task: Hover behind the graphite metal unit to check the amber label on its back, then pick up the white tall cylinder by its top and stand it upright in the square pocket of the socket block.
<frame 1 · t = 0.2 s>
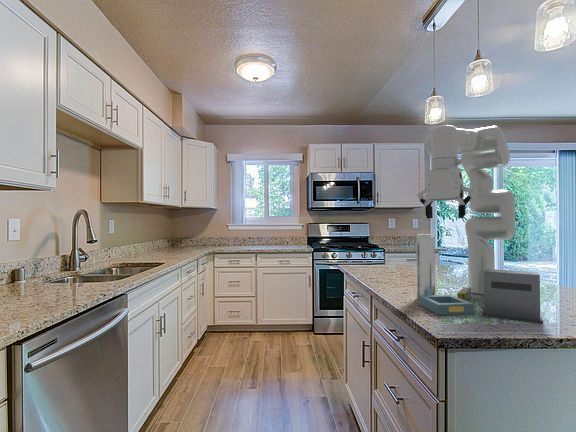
hand: (444, 218, 102), 31 cm above the worktop, tool pointing down, fingers open, 9 cm apart
socket block: (445, 310, 106), on the worktop
white tall cylinder: (426, 300, 120), on the worktop
medication box: (464, 301, 120), on the worktop
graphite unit: (510, 316, 99), on the worktop
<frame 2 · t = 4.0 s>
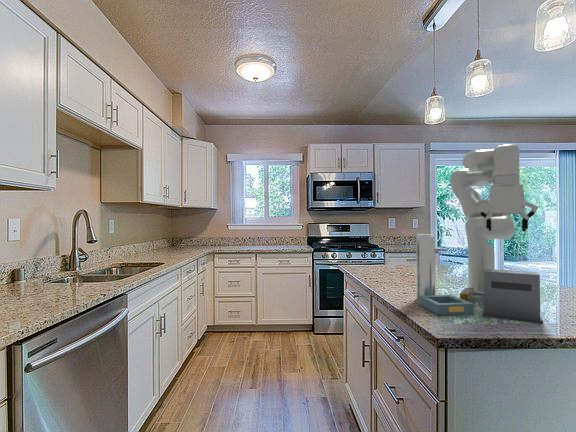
hand: (506, 231, 109), 26 cm above the worktop, tool pointing down, fingers open, 9 cm apart
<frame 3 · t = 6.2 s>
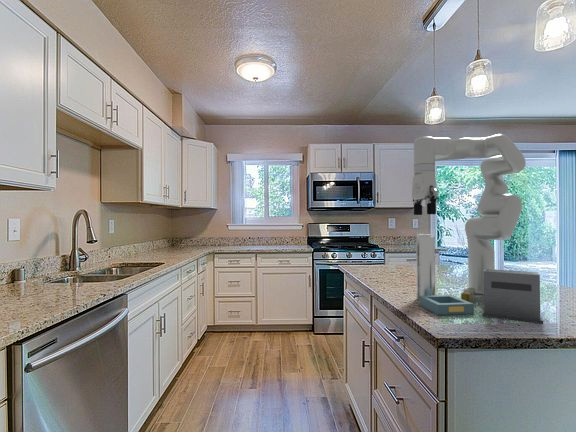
hand: (424, 214, 121), 32 cm above the worktop, tool pointing down, fingers open, 9 cm apart
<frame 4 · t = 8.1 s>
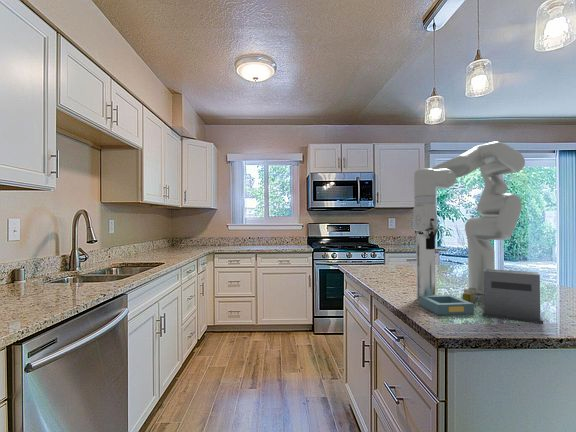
hand: (425, 247, 121), 20 cm above the worktop, tool pointing down, fingers closed on white tall cylinder, 6 cm apart
white tall cylinder: (425, 300, 120), on the worktop, touching gripper
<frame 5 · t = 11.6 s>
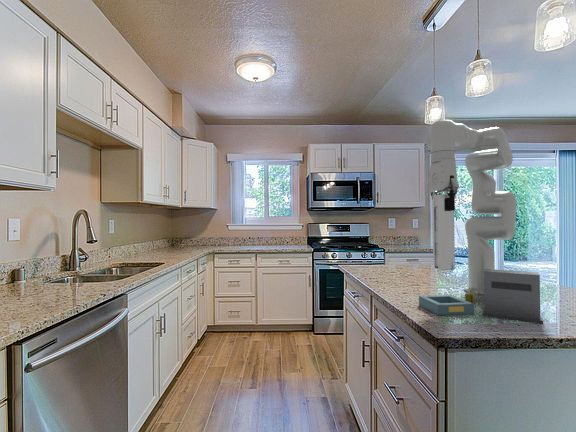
hand: (443, 210, 107), 34 cm above the worktop, tool pointing down, fingers closed on white tall cylinder, 6 cm apart
white tall cylinder: (444, 269, 107), point 14 cm above the worktop, touching gripper
when the fingers open (21 cm above the worktop, at t = 15.2 s): white tall cylinder stays where it is, resting on socket block.
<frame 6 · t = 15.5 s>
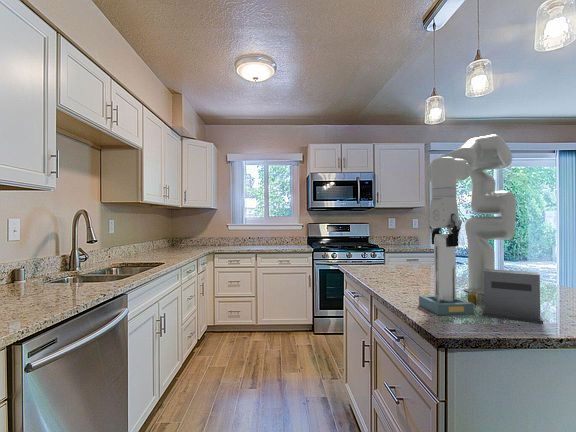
hand: (444, 245, 107), 22 cm above the worktop, tool pointing down, fingers open, 9 cm apart
white tall cylinder: (445, 308, 107), resting on socket block
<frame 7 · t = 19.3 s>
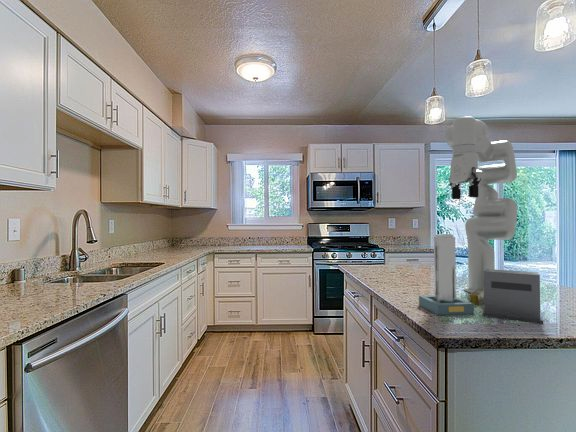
hand: (464, 198, 116), 38 cm above the worktop, tool pointing down, fingers open, 9 cm apart
at the end: white tall cylinder 0.3 cm off-centre on the socket block, point 0.3 cm above the socket block's base; white tall cylinder tilted 0°; the gripper is holding nothing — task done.
